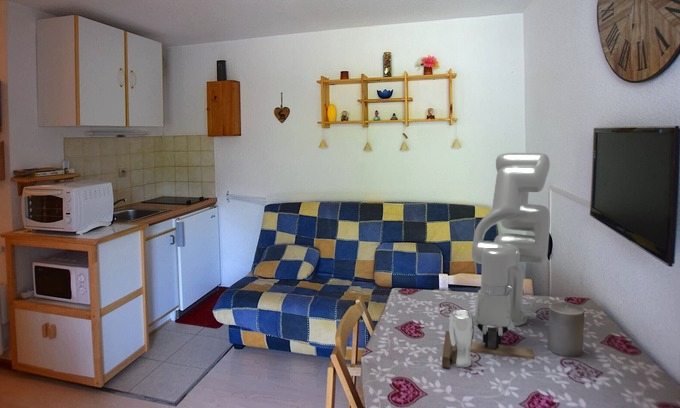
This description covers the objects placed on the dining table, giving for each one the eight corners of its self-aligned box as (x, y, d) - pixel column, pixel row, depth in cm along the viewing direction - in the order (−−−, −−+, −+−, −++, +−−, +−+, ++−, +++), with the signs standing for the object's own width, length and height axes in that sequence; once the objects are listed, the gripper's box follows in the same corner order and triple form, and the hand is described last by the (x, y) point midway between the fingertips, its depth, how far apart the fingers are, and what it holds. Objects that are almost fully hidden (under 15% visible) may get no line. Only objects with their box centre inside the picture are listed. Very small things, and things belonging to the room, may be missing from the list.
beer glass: (474, 369, 124) (476, 319, 122) (449, 367, 125) (450, 318, 123) (470, 357, 131) (472, 309, 129) (447, 356, 132) (448, 308, 130)
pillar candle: (579, 345, 138) (581, 299, 135) (585, 359, 128) (587, 311, 126) (545, 341, 141) (547, 296, 139) (548, 355, 132) (550, 307, 130)
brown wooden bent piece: (532, 351, 134) (533, 330, 133) (540, 381, 117) (541, 357, 116) (445, 341, 142) (446, 321, 141) (441, 368, 125) (442, 345, 124)
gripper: (521, 286, 133) (518, 343, 136) (466, 282, 138) (464, 337, 141) (523, 295, 126) (520, 354, 129) (465, 290, 131) (464, 347, 134)
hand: (491, 345), depth 135 cm, fingers closed on brown wooden bent piece, 2 cm apart
